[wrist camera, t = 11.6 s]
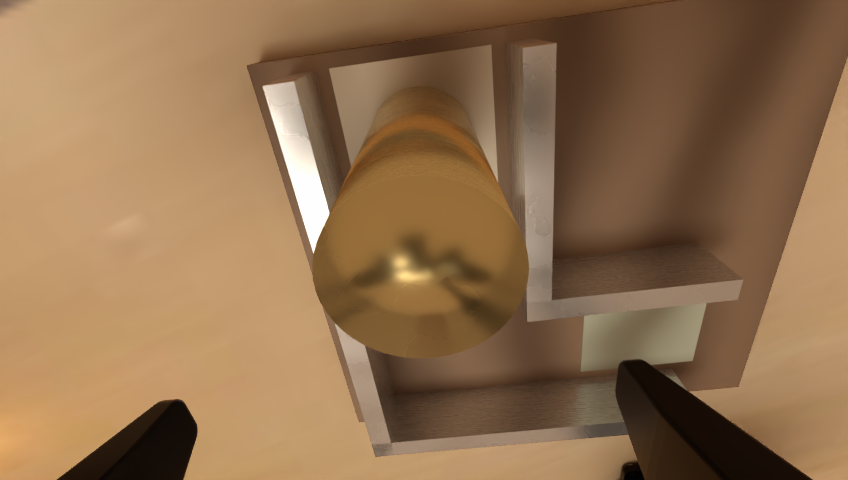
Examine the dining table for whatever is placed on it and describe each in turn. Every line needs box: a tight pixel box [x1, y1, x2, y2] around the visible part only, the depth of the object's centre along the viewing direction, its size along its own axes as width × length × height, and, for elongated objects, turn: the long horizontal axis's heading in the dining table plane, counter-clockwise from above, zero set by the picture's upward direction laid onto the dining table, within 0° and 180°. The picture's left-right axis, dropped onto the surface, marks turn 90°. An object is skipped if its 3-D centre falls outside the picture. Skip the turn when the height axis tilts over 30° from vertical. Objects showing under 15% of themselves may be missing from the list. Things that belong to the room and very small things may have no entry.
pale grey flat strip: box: [247, 0, 848, 422], centre depth 20 cm, size 22×20×1 cm
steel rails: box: [263, 39, 743, 457], centre depth 18 cm, size 16×18×3 cm
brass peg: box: [312, 86, 529, 358], centre depth 12 cm, size 4×4×10 cm
